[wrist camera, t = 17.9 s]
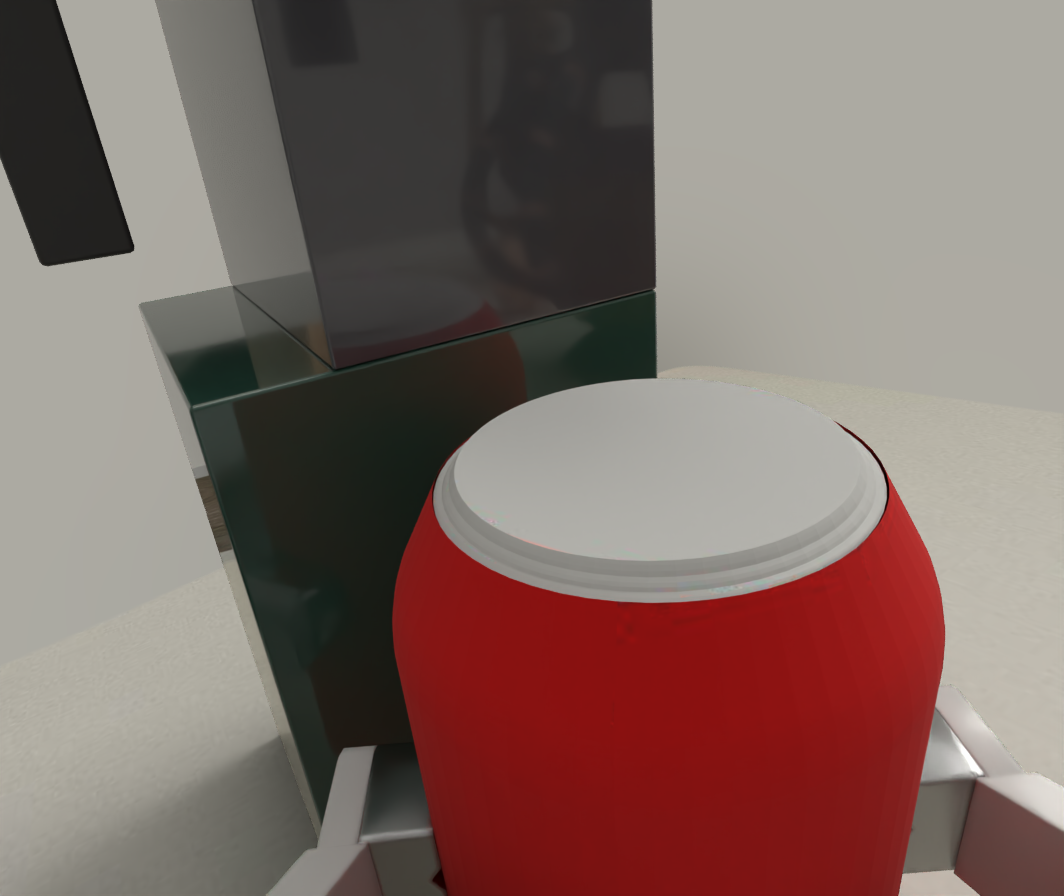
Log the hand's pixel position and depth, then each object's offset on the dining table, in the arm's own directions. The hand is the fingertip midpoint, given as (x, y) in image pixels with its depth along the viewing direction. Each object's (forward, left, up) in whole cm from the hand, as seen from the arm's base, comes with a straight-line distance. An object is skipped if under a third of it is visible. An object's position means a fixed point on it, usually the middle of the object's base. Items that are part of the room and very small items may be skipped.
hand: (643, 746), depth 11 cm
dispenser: (0, +5, -7) cm, 9 cm away
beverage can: (0, -1, -7) cm, 7 cm away
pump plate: (-5, +9, +7) cm, 13 cm away
